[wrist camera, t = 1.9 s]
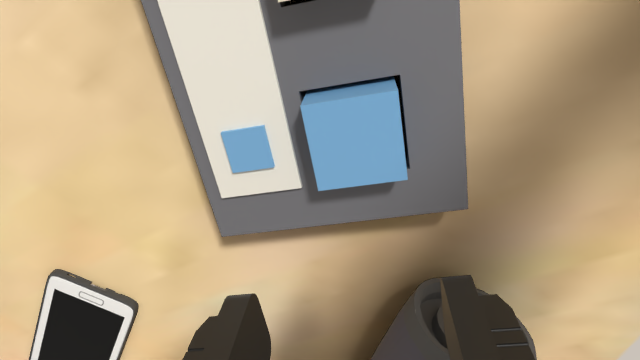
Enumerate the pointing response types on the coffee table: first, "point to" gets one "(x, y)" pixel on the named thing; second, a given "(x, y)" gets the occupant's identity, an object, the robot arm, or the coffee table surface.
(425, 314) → the bluetooth speaker
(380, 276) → the coffee table surface
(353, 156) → the button blue
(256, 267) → the coffee table surface
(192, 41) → the button board
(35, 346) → the cell phone
